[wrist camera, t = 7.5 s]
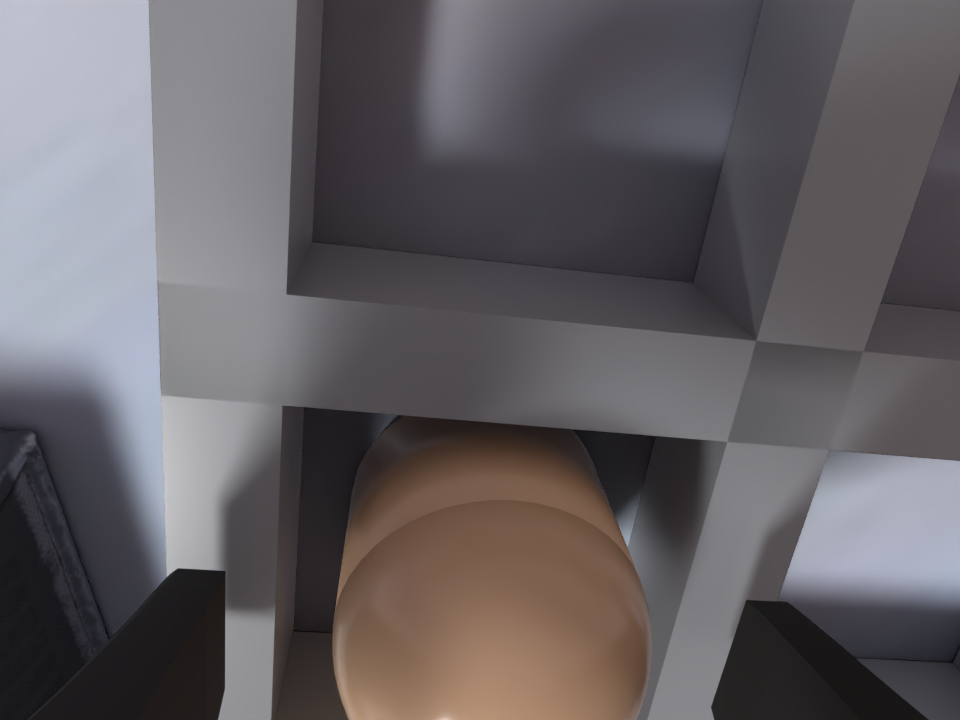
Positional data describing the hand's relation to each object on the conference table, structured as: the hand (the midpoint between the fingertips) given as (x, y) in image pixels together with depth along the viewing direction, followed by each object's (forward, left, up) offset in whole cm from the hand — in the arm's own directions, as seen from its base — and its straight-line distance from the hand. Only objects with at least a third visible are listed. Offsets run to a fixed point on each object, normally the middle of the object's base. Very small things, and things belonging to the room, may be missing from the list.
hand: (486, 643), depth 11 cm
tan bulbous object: (0, 0, -3) cm, 3 cm away
